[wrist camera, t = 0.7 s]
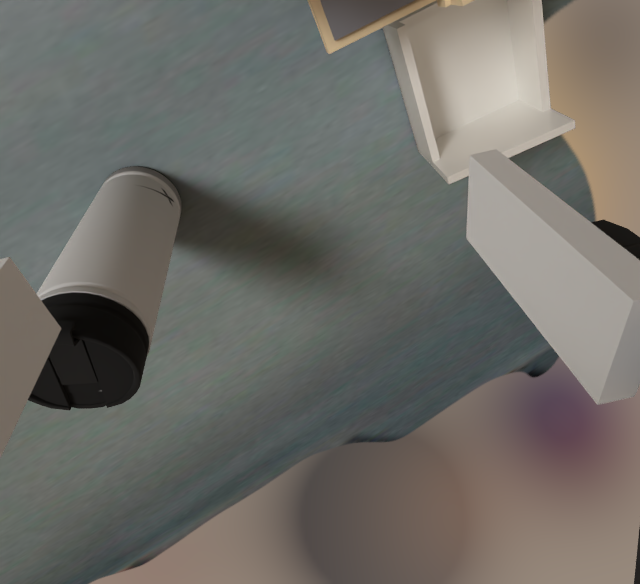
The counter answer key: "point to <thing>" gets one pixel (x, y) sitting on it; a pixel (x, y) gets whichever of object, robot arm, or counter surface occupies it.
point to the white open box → (474, 80)
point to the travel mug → (109, 292)
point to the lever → (362, 17)
